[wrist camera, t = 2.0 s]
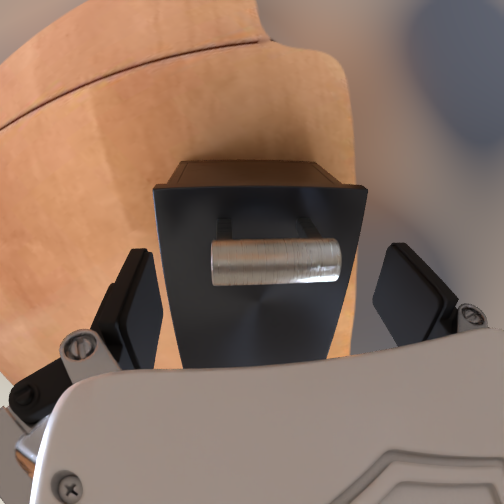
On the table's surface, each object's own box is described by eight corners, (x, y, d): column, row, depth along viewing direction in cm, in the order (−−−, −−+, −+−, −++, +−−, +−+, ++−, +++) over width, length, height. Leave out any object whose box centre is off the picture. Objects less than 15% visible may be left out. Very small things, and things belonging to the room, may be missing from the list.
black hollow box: (180, 161, 22) (157, 198, 14) (315, 161, 23) (359, 198, 15) (191, 296, 28) (184, 365, 21) (299, 292, 29) (321, 357, 22)
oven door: (155, 183, 14) (125, 229, 9) (362, 185, 15) (414, 226, 10) (184, 365, 21) (181, 423, 16) (321, 358, 22) (338, 411, 17)
